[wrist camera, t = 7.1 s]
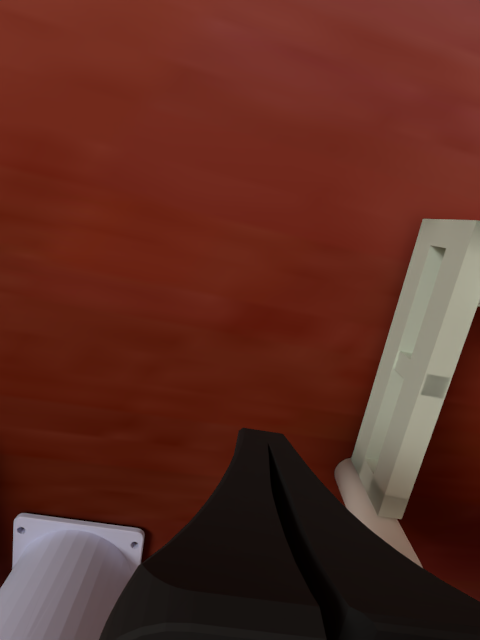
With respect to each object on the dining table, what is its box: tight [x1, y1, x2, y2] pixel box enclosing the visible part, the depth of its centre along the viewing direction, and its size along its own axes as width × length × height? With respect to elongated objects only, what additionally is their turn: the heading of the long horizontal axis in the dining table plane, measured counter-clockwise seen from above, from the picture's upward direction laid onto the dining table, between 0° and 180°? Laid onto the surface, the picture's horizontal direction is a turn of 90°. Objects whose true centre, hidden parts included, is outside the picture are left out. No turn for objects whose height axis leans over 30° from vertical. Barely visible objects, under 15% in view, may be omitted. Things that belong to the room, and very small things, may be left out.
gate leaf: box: [351, 219, 480, 519], centre depth 19 cm, size 14×1×4 cm, turn 170°
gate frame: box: [334, 300, 480, 568], centre depth 19 cm, size 15×2×7 cm, turn 161°
